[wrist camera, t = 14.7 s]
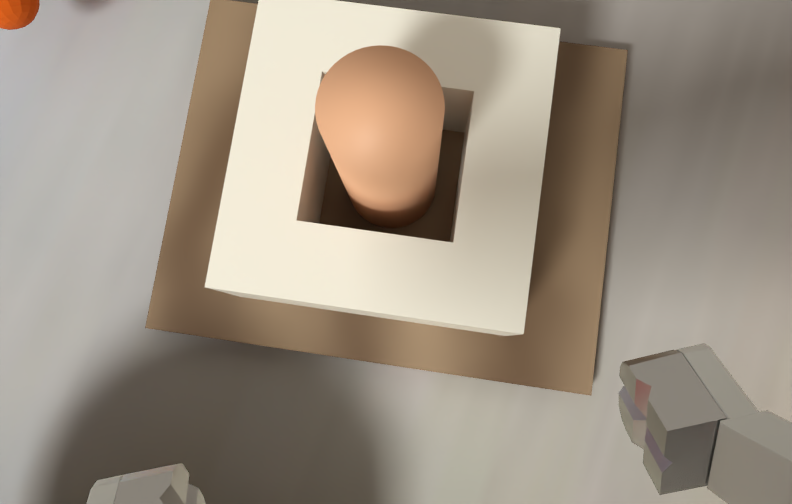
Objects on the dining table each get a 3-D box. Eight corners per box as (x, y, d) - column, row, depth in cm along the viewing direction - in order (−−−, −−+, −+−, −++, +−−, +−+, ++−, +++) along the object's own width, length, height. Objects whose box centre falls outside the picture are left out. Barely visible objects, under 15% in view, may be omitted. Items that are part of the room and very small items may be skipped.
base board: (621, 59, 32) (627, 50, 31) (585, 393, 29) (591, 395, 28) (217, 8, 33) (210, -2, 32) (153, 328, 30) (145, 327, 29)
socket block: (537, 79, 31) (560, 28, 26) (505, 335, 29) (523, 334, 24) (285, 47, 31) (260, -9, 26) (239, 296, 30) (204, 287, 25)
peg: (441, 149, 30) (453, 53, 20) (429, 233, 30) (435, 178, 20) (355, 137, 30) (326, 38, 20) (342, 221, 30) (304, 160, 20)
